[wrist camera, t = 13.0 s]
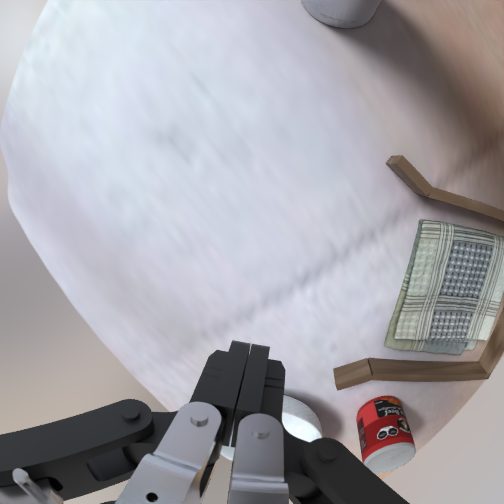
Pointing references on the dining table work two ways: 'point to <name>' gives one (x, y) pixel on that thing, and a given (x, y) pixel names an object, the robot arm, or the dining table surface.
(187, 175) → the dining table surface
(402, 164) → the towel holder
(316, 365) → the dining table surface
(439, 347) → the dish towel
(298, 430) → the cereal bowl
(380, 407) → the canned food
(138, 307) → the dining table surface
